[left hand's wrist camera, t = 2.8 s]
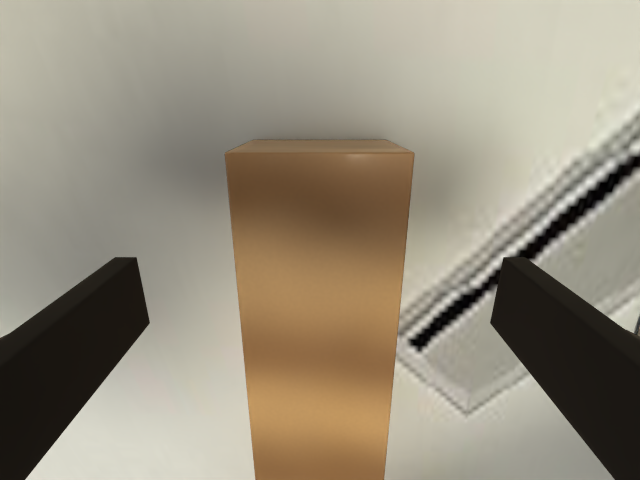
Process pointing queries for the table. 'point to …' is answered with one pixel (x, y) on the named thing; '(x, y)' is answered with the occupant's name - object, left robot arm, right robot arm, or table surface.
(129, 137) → the table surface
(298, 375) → the wide beam
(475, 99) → the table surface
